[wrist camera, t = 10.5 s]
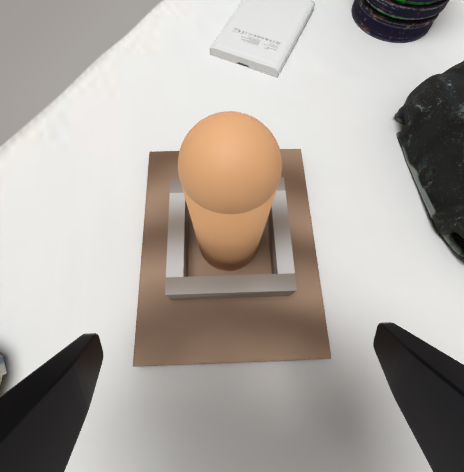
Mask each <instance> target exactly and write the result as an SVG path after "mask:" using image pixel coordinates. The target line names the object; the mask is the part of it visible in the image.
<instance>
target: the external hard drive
mask: <svg viewBox="0 0 464 472" xmlns="http://www.w3.org/2000/svg"><path fill="white" fill-rule="evenodd" d="M314 5H315V3H314V1H312V0H242V1H241V3H240V4H239V6H238V7H237V9H236V10H235V12H234V13H233V15H232V16H231V18H230V19H229V21H228V22H227V24H226V25H225V27H224V28H223V30H222V31H221V33H220V34H219V35H218V37H217V38H216V40H215V41H214V43H213V44H212V46H211V47H210V55H212V56H215V57H218V58H221V59H224V60H227V61H230V62H233V63H236V64H238V63H240V64H243V65H246V66H248V67H249V68H250V69H253V70H256V71H259V72H262V73H265V74H268V75H271V76H274V77H278V75H279V73H280V71H281V69H282V68H283V66H284V64H285V62H286V60H287V58H288V56H289V55H290V53H291V51H292V49H293V47H294V45H295V43H296V41H297V40H298V38H299V36H300V34H301V32H302V30H303V28H304V27H305V25H306V23H307V21H308V19H309V17H310V15H311V13H312V11H313V9H314Z"/></svg>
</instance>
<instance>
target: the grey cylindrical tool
mask: <svg viewBox="0 0 464 472" xmlns="http://www.w3.org/2000/svg"><path fill="white" fill-rule="evenodd" d="M5 374H7V372H6V368H5V363H4V359H3V356H2V355H1V354H0V384H1V380H2V376H3V375H5ZM0 396H1V395H0Z"/></svg>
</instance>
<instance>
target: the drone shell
mask: <svg viewBox="0 0 464 472" xmlns="http://www.w3.org/2000/svg"><path fill="white" fill-rule="evenodd" d="M395 117H396V121H397V122H399V123H401V124H404V125H405V127H404V128H403V130H402V131H401V132H397V138H398V140H399V142H400V144H401V147H402V149H403V152H404V155H405V159H406V161H407V164H408V166H409V168H410V171H411V173H412V175H413V177H414V180H415V182H416V184H417V187H418V189H419V191H420V193H421V196H422V198H423V200H424V203H425V205H426V207H427V209H428V212H429V214H430V216H431V218H432V220H433V223H434V225H435V226H436V228H437V230H438V232H440V233H441V235H442V237H443V238H444V239H445V240H446V242H447V243H448V244H449V245H450V247H451V248H452V249H453V250H454V252H456V253H457V254H458V255H460V256H462V257H464V244H463V243H462V242H461V241H462V239H461V238H460V237H458V236H457V235H456V234H454V232H455V233H457V234H459V235H460V236H461V237H462V238H463V239H464V61H463V62H461V63H459V64H457V65H455V66H453V67H452V68H450V69H448V70H447V71H445V72H444V73H442V74H436V75H433V76H431V77H429V78H428V79H426V80H425V81H424V82H422V83H421V84H420V85H419V86H418V87H416V88H415V89H414V90H413V91H412V92H411V93H410V95H409V96H408V98H407V100H406V102H405V104H404V106H403V107H401V108H400V109H399V111H398V112H397V113H396V114H395Z"/></svg>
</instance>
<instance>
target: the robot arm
mask: <svg viewBox="0 0 464 472" xmlns="http://www.w3.org/2000/svg"><path fill="white" fill-rule="evenodd" d="M374 349H375V352H376V355H377V357H378V359H379V362H380V364H381V367H382V369H383V372H384V374H385V377H386V379H387V382H388V384H389V386H390V389H391V391H392V393H393V396H394V398H395V400H396V402H397V404H398V406H399V408H400V409H401V411H402V413H403V415H404V417H405V419H406V421H407V423H408V425H409V427H410V428H411V430H412V432H413V434H414V436H415V438H416V440H417V442H418V444H419V446H420V448H421V449H422V451H423V453H424V455H425V457H426V459H427V461H428V463H429V465H430V467H431V468H432V470H433V472H464V365H463V364H461V363H459V362H458V361H456V360H454V359H453V358H451V357H449V356H448V355H446V354H444V353H443V352H441V351H439V350H438V349H436V348H434V347H433V346H431V345H429V344H428V343H426V342H424V341H423V340H421V339H419V338H418V337H416V336H414V335H413V334H411V333H409V332H408V331H406V330H404V329H403V328H401V327H399V326H398V325H396V324H394V323H391V322H389V323H379V324H378V326H377V330H376V334H375V338H374ZM102 361H103V350H102V346H101V343H100V339H99V336H98V334H96V333H91V334H83V335H81V336H80V337H79V338H77V339H76V340H75V341H73V342H72V343H71V344H69V345H68V346H67V347H65V348H64V349H63V350H61V351H60V352H59V353H58V354H56V355H55V356H54V357H52V358H51V359H50V360H48V361H47V362H46V363H44V364H43V365H42V366H40V367H39V368H38V369H36V370H35V371H34V372H32V373H31V374H30V375H28V376H27V377H26V378H25V379H23V380H22V381H21V382H19V383H18V384H17V385H15V386H14V387H13V388H11V389H10V390H9V391H7V392H6V393H5V394H3V395H2V396H1V397H0V472H64V471H65V469H66V466H67V464H68V461H69V458H70V456H71V453H72V451H73V448H74V446H75V443H76V441H77V438H78V436H79V433H80V431H81V428H82V426H83V423H84V421H85V418H86V415H87V413H88V410H89V407H90V403H91V400H92V397H93V393H94V389H95V386H96V382H97V379H98V375H99V372H100V368H101V365H102Z"/></svg>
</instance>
